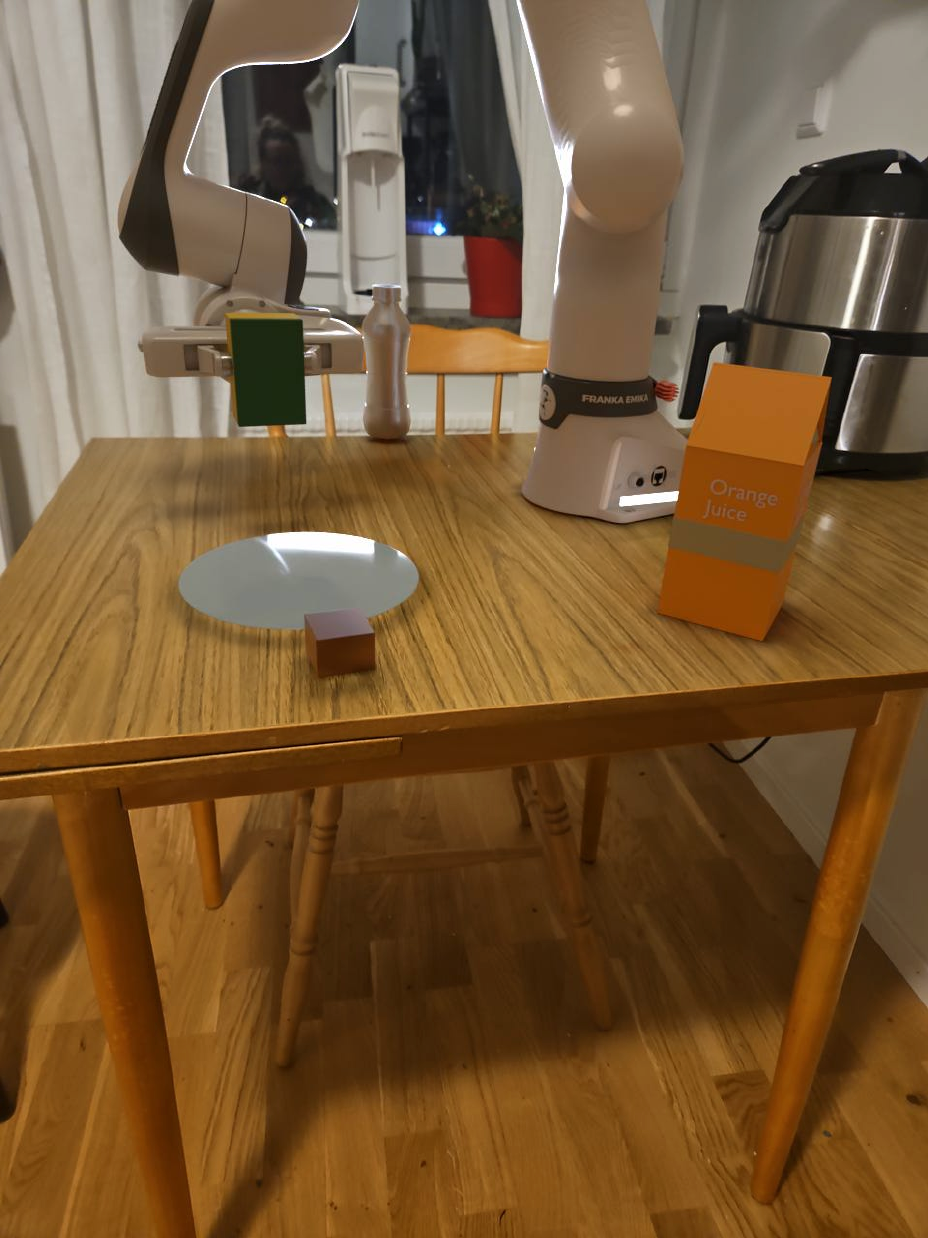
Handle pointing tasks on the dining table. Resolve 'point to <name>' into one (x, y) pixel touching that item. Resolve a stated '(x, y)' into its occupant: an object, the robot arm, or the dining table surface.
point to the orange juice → (743, 497)
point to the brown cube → (339, 642)
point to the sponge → (267, 368)
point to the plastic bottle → (386, 365)
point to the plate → (296, 579)
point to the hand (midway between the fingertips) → (268, 366)
